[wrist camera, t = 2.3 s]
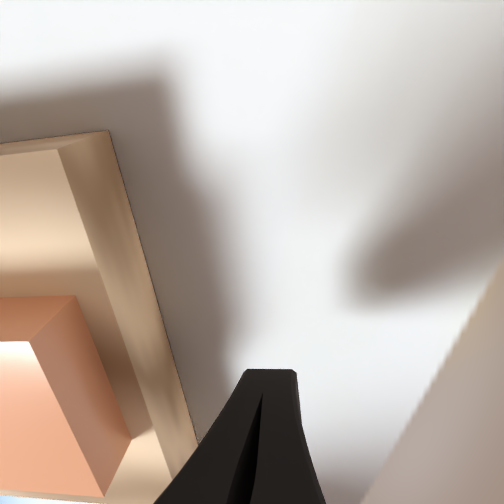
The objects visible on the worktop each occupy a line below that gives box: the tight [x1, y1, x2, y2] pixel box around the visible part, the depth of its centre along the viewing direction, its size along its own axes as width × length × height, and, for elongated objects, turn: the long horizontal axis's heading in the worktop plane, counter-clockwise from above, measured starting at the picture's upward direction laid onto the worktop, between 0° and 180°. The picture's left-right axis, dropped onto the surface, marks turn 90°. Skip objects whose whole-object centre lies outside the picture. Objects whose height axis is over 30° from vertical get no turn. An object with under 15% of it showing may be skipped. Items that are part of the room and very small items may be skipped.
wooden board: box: [0, 130, 198, 504], centre depth 14 cm, size 14×12×2 cm
